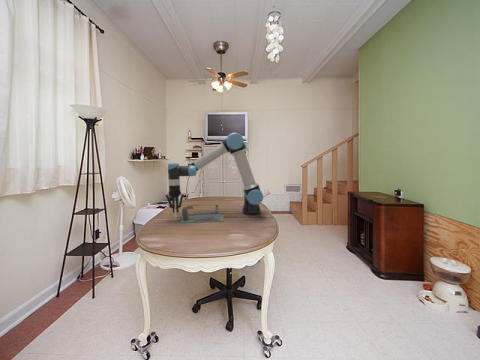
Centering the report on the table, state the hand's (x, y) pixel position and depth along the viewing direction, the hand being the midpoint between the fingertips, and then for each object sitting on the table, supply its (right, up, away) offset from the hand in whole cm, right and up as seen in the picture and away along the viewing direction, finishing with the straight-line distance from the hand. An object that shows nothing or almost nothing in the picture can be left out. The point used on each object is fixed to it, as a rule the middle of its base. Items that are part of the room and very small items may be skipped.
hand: (176, 216), depth 151 cm
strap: (+22, +5, +1) cm, 22 cm away
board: (+19, -2, +2) cm, 19 cm away
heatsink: (+22, -2, +2) cm, 22 cm away
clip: (+9, -2, +1) cm, 9 cm away
